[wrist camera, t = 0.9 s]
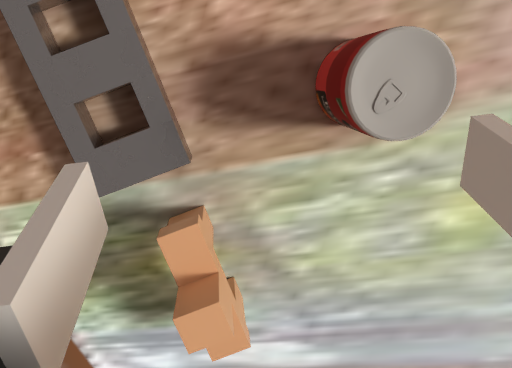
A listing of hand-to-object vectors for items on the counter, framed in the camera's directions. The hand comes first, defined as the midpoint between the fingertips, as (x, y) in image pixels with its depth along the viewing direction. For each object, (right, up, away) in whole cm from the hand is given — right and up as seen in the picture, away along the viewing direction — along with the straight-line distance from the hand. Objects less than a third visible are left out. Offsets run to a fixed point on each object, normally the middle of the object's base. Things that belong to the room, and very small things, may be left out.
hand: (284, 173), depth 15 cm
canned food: (+8, +9, +26) cm, 29 cm away
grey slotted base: (-15, +10, +23) cm, 29 cm away
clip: (-6, -8, +28) cm, 30 cm away
